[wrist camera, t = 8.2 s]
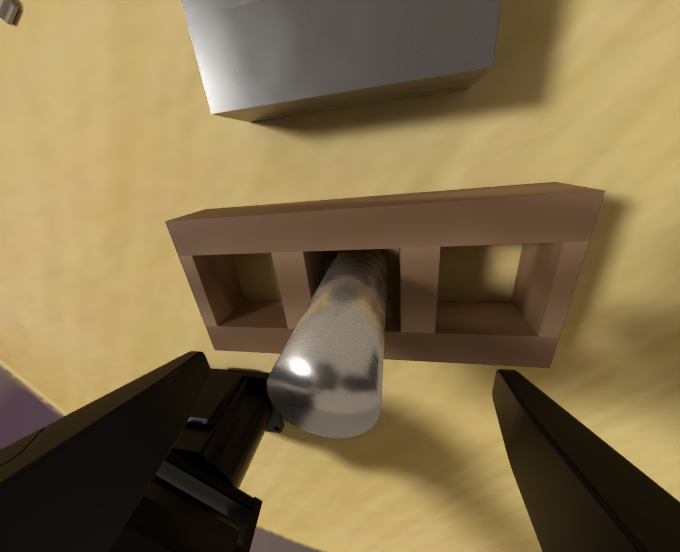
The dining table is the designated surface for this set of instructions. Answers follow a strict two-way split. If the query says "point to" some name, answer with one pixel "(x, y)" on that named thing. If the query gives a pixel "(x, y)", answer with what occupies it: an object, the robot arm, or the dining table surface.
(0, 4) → the caliper
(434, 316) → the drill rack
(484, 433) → the dining table surface
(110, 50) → the dining table surface
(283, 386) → the metal peg
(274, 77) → the socket block
